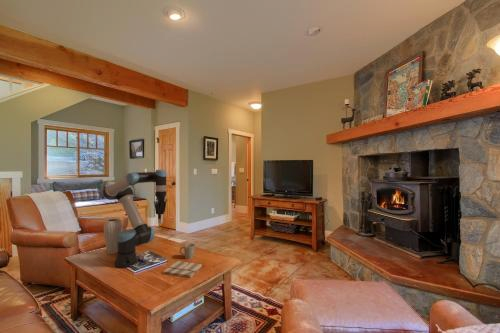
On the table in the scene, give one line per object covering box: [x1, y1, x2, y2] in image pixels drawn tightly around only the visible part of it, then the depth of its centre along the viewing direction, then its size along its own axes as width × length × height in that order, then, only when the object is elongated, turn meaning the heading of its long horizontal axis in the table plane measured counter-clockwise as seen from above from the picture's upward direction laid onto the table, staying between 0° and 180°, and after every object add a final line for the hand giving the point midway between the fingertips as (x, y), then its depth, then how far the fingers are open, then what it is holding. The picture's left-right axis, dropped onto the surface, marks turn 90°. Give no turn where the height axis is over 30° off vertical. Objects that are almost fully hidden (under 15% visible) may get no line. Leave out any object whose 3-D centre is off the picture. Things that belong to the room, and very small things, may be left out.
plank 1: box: [168, 260, 189, 270], centre depth 166 cm, size 10×9×2 cm
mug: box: [179, 243, 196, 260], centre depth 183 cm, size 8×13×10 cm, turn 78°
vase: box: [103, 218, 123, 255], centre depth 191 cm, size 13×13×26 cm
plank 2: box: [183, 262, 203, 274], centre depth 163 cm, size 10×9×2 cm
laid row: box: [162, 267, 196, 279], centre depth 161 cm, size 22×17×2 cm
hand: (160, 223), depth 173 cm, fingers closed
